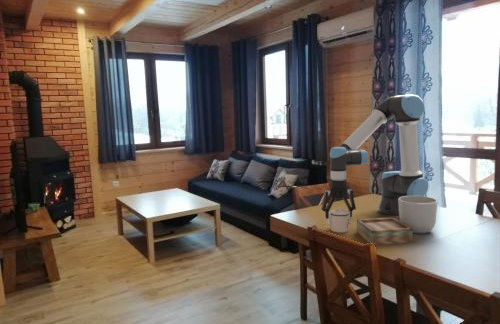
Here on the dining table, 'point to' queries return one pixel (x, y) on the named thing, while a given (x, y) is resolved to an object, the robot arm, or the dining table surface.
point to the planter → (418, 212)
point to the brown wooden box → (384, 231)
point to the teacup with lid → (339, 220)
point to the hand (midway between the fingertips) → (338, 224)
